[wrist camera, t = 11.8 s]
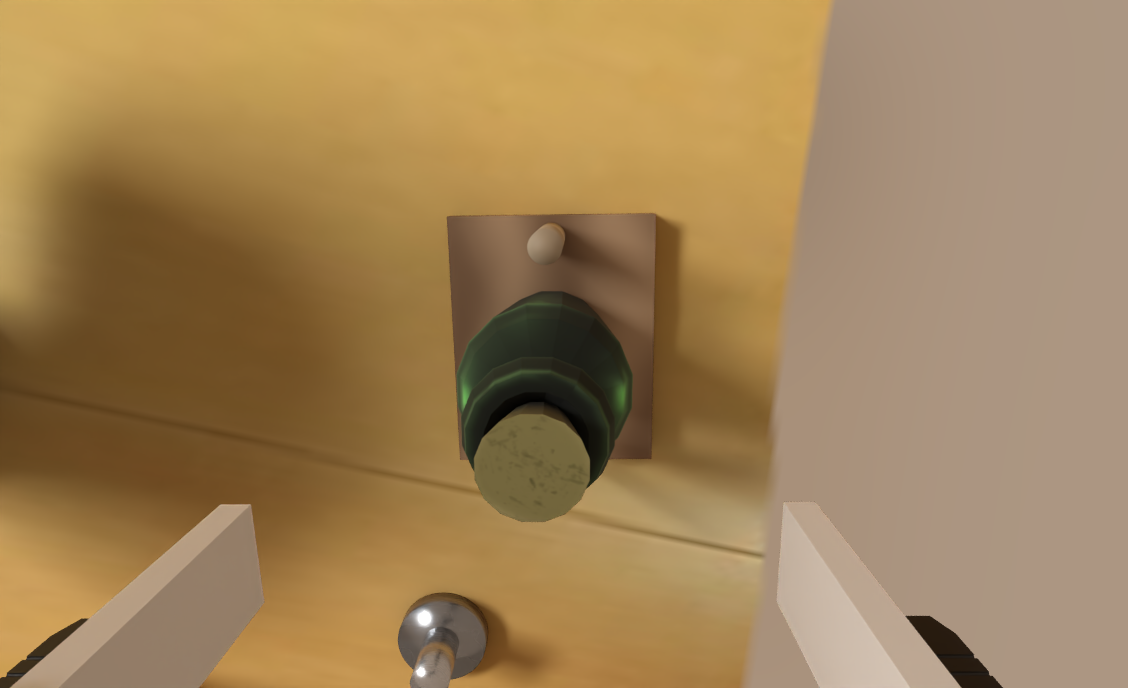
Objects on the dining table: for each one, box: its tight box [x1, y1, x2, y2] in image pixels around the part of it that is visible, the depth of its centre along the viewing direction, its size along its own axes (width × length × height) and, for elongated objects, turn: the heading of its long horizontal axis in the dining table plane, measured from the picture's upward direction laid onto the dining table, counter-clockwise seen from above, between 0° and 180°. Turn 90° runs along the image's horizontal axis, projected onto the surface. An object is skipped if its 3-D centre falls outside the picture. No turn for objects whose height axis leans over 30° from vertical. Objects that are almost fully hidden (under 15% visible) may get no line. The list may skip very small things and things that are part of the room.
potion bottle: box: [457, 291, 633, 522], centre depth 29 cm, size 8×8×18 cm
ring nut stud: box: [398, 593, 488, 688], centre depth 42 cm, size 6×6×5 cm
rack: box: [447, 213, 656, 460], centre depth 35 cm, size 12×15×10 cm
